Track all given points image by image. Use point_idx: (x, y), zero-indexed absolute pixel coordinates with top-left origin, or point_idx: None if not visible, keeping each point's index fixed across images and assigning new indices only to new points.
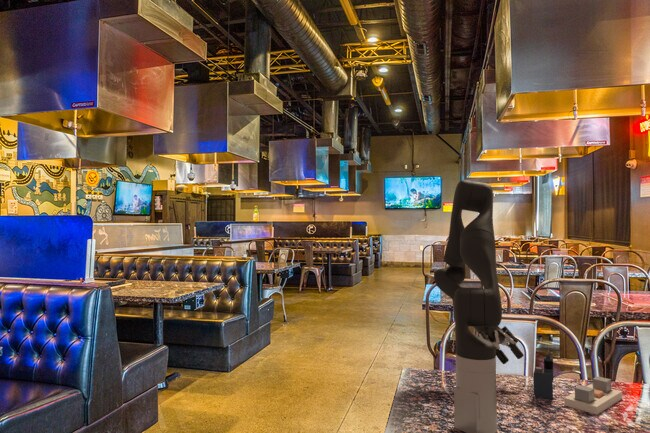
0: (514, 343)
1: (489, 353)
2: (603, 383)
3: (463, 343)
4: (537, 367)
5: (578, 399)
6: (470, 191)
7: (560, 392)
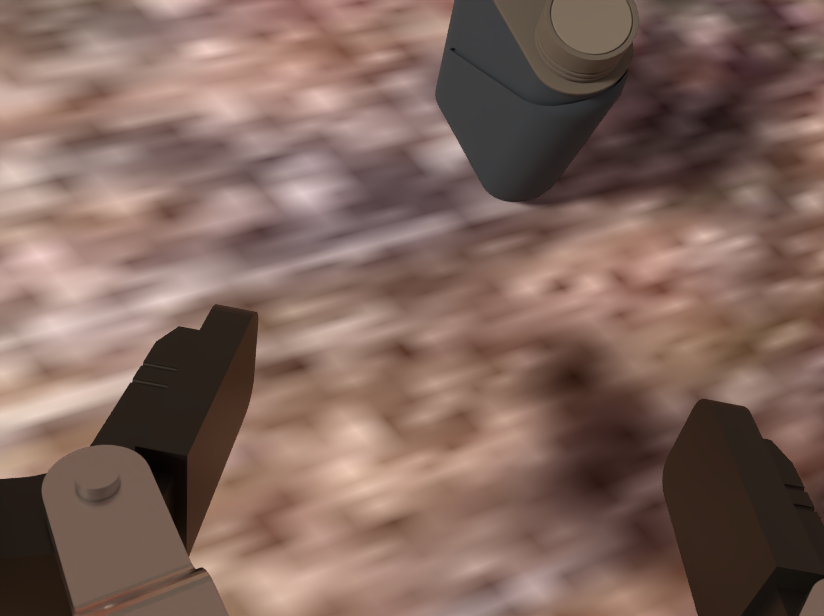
0: (138, 476)
1: None
2: None
3: None
4: (580, 33)
5: None
6: None
7: (260, 54)
